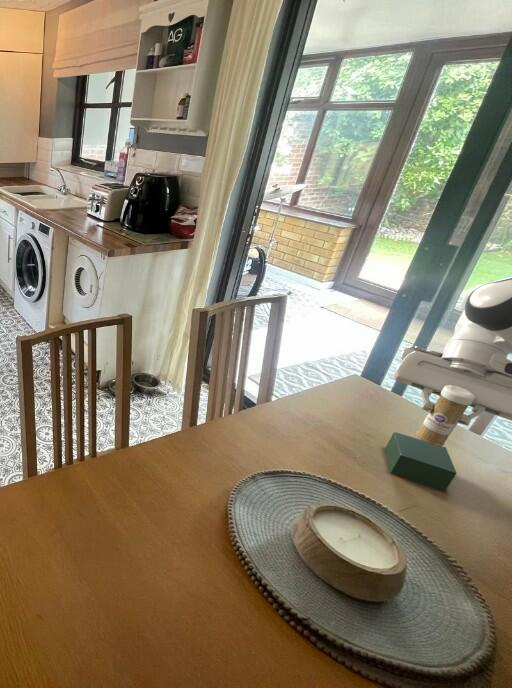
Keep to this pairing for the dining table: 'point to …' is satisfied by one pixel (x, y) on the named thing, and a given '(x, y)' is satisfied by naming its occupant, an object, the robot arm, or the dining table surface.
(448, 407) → the sprinkles bottle
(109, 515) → the dining table surface
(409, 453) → the riser block
